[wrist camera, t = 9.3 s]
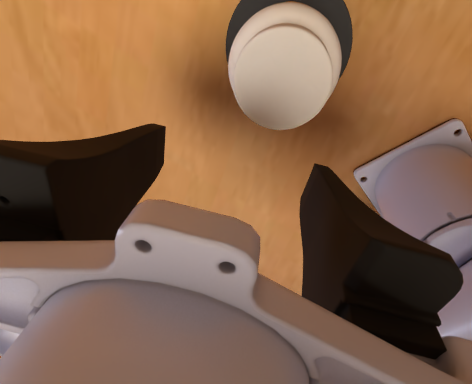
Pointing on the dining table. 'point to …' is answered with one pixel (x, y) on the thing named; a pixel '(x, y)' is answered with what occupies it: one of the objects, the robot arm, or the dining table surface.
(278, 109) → the supplement bottle
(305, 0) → the coaster
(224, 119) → the dining table surface
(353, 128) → the dining table surface
